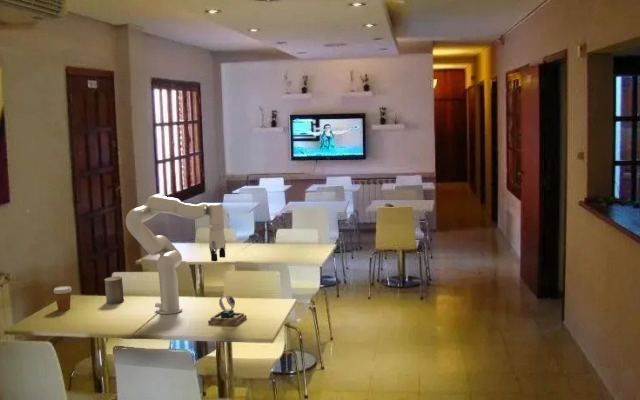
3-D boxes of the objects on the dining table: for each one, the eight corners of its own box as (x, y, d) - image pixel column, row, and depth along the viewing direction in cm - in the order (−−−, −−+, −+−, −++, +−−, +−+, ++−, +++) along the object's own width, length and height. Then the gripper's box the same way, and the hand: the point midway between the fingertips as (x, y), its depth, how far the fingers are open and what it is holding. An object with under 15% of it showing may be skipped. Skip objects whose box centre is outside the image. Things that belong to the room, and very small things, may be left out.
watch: (232, 319, 367) (230, 297, 366) (217, 317, 370) (216, 296, 369) (237, 316, 372) (236, 294, 371) (223, 314, 375) (222, 293, 374)
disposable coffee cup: (51, 310, 404) (49, 289, 403) (63, 306, 413) (61, 285, 411) (65, 312, 400) (63, 290, 399) (76, 307, 409) (75, 286, 408)
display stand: (208, 324, 367) (208, 318, 367) (219, 317, 380) (219, 311, 379) (236, 326, 363) (235, 319, 362) (246, 318, 375) (246, 312, 375)
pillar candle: (127, 299, 422) (125, 274, 420) (118, 304, 413) (116, 278, 411) (111, 299, 424) (109, 274, 423) (103, 304, 415) (100, 278, 413)
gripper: (217, 224, 393) (219, 255, 395) (202, 229, 377) (204, 262, 379) (230, 224, 391) (231, 256, 393) (216, 229, 375) (217, 263, 377)
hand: (218, 259), depth 386 cm, fingers open, 9 cm apart
